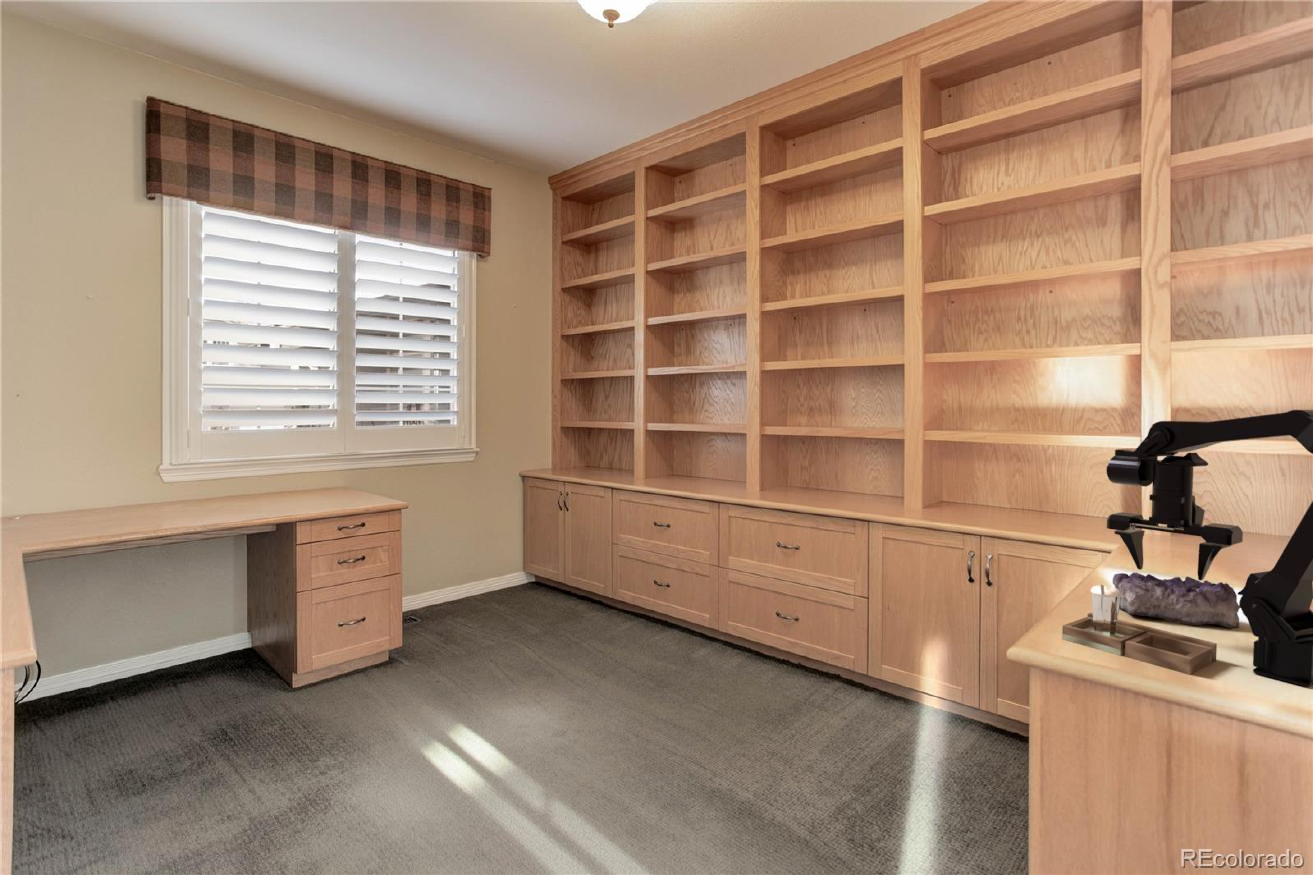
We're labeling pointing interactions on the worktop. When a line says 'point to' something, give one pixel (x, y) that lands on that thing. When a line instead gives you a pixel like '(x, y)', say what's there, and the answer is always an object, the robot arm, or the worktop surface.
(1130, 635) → the divided wooden tray
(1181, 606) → the geode
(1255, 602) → the robot arm
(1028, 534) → the worktop surface
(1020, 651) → the worktop surface
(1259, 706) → the worktop surface
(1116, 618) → the milkshake
